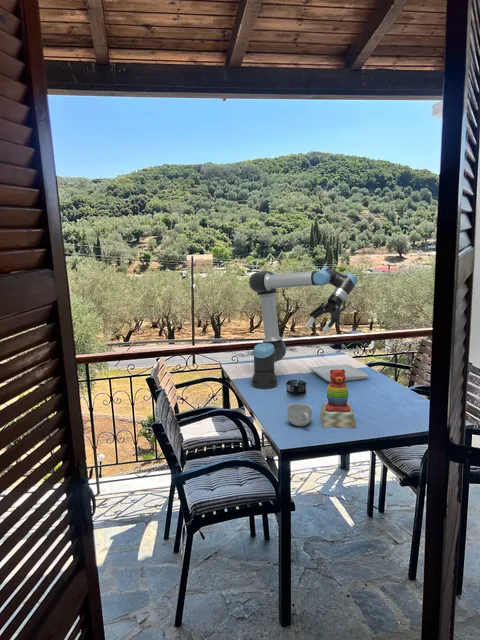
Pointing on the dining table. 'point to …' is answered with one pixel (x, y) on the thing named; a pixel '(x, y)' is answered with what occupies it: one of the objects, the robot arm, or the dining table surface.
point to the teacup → (299, 414)
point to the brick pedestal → (337, 418)
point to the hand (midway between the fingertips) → (315, 329)
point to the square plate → (350, 371)
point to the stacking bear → (337, 392)
